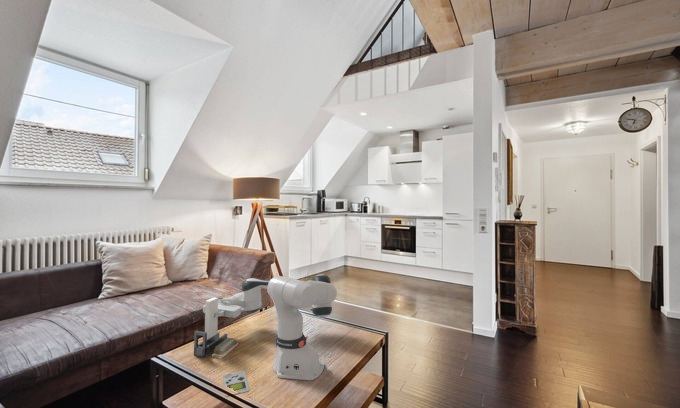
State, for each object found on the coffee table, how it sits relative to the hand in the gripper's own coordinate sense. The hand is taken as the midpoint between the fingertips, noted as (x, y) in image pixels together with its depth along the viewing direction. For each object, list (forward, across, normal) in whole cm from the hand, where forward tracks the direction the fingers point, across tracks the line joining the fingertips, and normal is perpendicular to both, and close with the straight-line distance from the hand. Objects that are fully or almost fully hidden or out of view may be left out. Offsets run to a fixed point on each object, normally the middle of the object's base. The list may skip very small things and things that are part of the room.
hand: (211, 315), depth 149 cm
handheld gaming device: (+20, -29, -17) cm, 39 cm away
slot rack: (0, -1, -16) cm, 16 cm away
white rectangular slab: (0, 0, -10) cm, 10 cm away
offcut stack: (0, -9, -16) cm, 19 cm away
